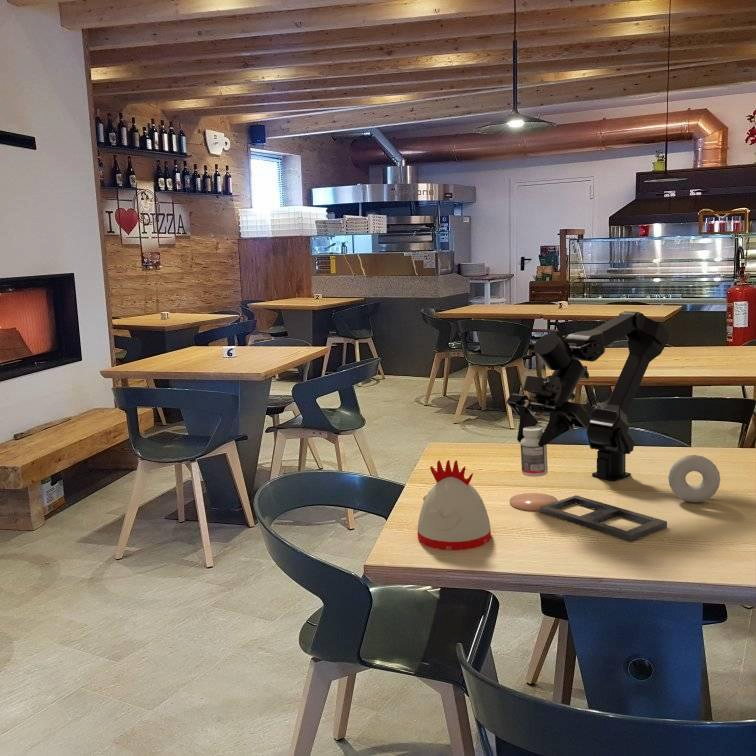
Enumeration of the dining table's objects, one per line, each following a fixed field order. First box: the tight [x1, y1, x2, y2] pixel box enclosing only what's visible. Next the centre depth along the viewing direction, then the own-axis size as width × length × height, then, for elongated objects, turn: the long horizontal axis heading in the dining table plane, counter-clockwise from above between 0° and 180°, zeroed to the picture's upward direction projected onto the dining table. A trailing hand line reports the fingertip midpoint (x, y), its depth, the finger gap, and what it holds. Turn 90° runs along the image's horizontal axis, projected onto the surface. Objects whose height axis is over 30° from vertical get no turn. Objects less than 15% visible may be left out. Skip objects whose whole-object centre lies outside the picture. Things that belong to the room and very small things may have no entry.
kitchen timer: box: [417, 459, 492, 551], centre depth 151 cm, size 14×14×15 cm
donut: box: [667, 454, 721, 504], centre depth 164 cm, size 10×4×10 cm, turn 74°
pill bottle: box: [520, 425, 549, 478], centre depth 167 cm, size 5×5×10 cm
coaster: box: [509, 492, 559, 512], centre depth 169 cm, size 10×10×1 cm
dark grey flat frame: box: [539, 494, 668, 543], centre depth 157 cm, size 11×22×1 cm, turn 36°
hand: (529, 443), depth 166 cm, fingers closed on pill bottle, 5 cm apart
